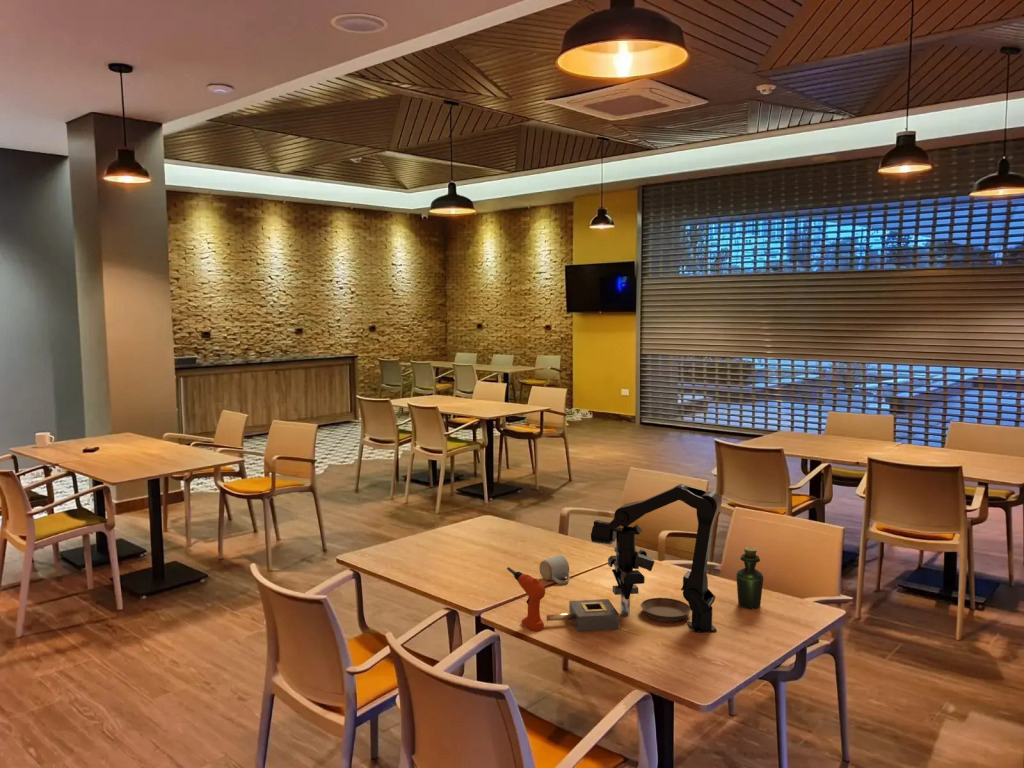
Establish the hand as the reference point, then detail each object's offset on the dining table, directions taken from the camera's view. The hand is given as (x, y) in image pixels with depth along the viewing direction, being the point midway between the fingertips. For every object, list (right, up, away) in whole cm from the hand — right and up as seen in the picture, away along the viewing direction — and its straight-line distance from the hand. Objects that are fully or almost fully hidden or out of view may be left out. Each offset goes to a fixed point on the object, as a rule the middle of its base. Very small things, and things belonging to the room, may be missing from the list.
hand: (625, 597), depth 222 cm
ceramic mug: (-19, -3, +31) cm, 36 cm away
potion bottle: (+39, -5, +7) cm, 40 cm away
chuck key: (0, -5, 0) cm, 5 cm away
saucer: (+12, -6, 0) cm, 13 cm away
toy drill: (-31, -6, -5) cm, 31 cm away
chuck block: (-14, -6, -6) cm, 17 cm away
